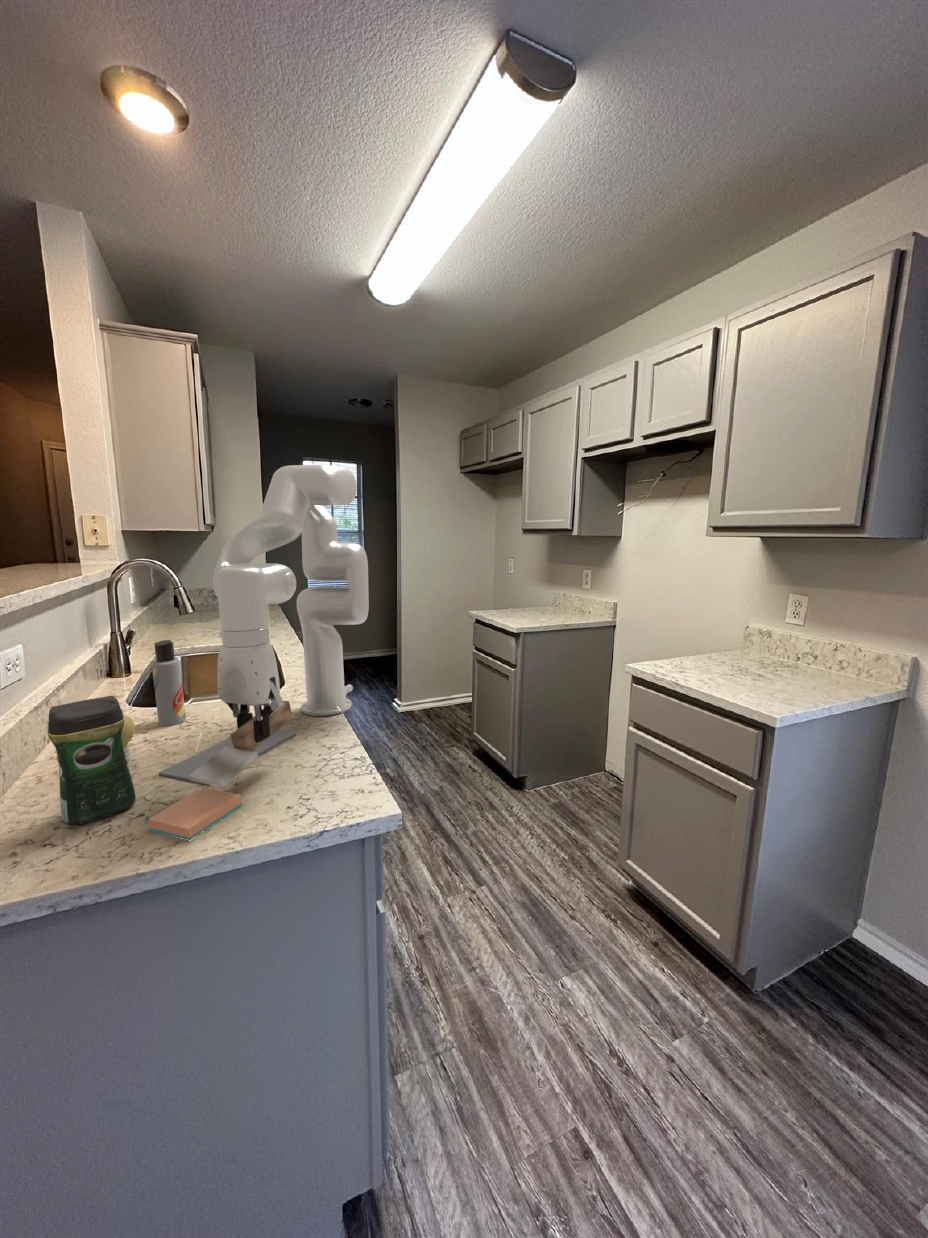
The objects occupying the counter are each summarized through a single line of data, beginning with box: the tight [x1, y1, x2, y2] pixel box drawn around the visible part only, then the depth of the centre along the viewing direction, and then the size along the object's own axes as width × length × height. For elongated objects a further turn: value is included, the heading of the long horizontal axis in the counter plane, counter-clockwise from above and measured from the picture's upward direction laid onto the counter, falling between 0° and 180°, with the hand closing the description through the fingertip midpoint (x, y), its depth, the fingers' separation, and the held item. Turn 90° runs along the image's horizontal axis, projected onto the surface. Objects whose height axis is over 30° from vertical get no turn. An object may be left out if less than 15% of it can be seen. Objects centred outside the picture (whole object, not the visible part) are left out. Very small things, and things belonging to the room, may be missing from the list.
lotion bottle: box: [151, 639, 187, 727], centre depth 116 cm, size 6×6×20 cm
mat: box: [158, 729, 297, 786], centre depth 100 cm, size 24×12×1 cm, turn 160°
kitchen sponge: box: [148, 787, 243, 841], centre depth 76 cm, size 2×8×10 cm
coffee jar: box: [47, 695, 136, 826], centre depth 77 cm, size 10×8×19 cm
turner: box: [188, 700, 294, 788], centre depth 86 cm, size 20×7×4 cm, turn 161°
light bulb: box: [122, 714, 136, 763], centre depth 95 cm, size 6×6×10 cm
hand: (254, 737), depth 87 cm, fingers closed on turner, 3 cm apart
